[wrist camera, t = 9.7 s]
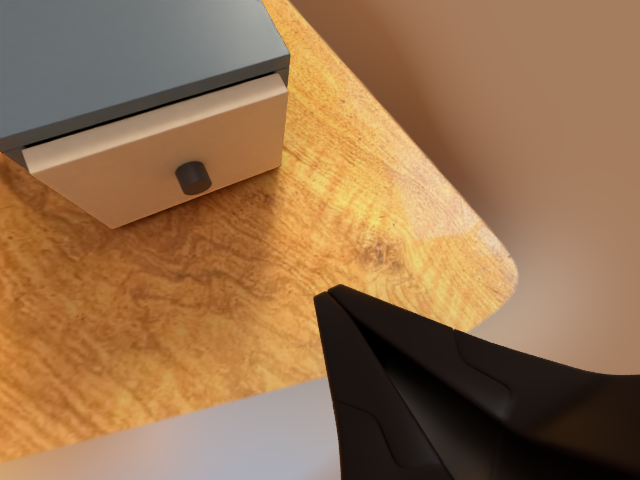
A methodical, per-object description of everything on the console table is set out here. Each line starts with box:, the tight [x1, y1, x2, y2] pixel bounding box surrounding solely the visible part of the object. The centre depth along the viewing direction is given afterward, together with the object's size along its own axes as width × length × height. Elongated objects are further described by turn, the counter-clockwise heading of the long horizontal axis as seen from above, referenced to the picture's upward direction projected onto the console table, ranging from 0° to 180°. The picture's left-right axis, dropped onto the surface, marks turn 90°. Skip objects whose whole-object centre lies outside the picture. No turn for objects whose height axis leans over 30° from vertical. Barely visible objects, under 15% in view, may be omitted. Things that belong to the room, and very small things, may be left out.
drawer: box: [22, 73, 288, 229], centre depth 20 cm, size 15×11×8 cm
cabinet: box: [0, 0, 290, 171], centre depth 20 cm, size 15×13×10 cm
